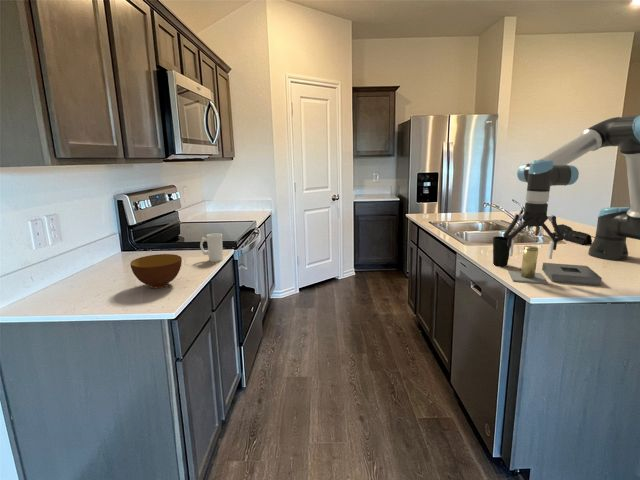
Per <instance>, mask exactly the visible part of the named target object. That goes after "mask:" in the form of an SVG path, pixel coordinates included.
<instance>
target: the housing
mask: <svg viewBox="0 0 640 480" xmlns="http://www.w3.org/2000/svg"><path fill="white" fill-rule="evenodd" d="M541 270H542V271H543V273H544V274H545V276H547V278H548V279H549V280H550V281H551V283H562V284H563V283H564V284H575V285H576V284H577V285H585V286H586V285H588V286H601V285H602V280H603V278H602V277H601V276H600V275H599V274H598V273H596V272H595V271H594V270H593V269H591V267H589V266H588V265H582V264H581V265H579V264H569V263H568V264H565V263H555V262H554V263H553V262H551V263H550V262H542V269H541Z"/></svg>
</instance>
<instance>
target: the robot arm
mask: <svg viewBox="0 0 640 480" xmlns="http://www.w3.org/2000/svg"><path fill="white" fill-rule="evenodd" d="M608 147H619V151H620V152H619V153H620V154H621V155H622V156H624V157H625V164H626V166H625V167H626V173H627V183H628V192H629V195H628V196H629V204H630V207H629V206H627V207H626V206H623V207H621V206H619V207H618V206H617V207H602V208H601V209H600V210H599V213H598V216H597V224H596V229H595V231H596V232H595V236H594V237H595V238H594V239H593V240H592V243H591V244H590V247H589V248H588V252H587V253H588V255H589V256H591V257H594V258H598V259H603V260H609V261H610V260H613V261H624V260H623V259H626V260H628V259H629V251H628V245H627V239H628V238H629V239H633V240H638V241H640V115H629V116H617V117H611V118H608V119H605V120H603V121H600V122H598V123H596V124H594V125H592V126H589V127H588V128H586V129H585V130H583V131H581V133H580V135H579V136H578V137H576V138H574V139H572V140H571V141H568V142H566V144H564V145H562V146H560V147H558V148H557V149H555V150H553V151H552V152H550V153H548V154H546V155H545V156H543V157H541V158H539V159H537V160H532V161H530V163H529V162H527V163H524V164H523V163H522V164H521V165H520V166H519V167H518V169H517V172H516V175H517V178H518V180H519V181H520V182H523V183H527V187H526V195H525V201H526V202H525V203H524V211H523V212H524V213H523V214H518V213H515V214H514V216H513V220H512V221H511V223H510V224H509V225H508V227H507V228H506V229H505V231H504V233H503V234H502V237H505V238H508V243H507V246H508V247H510V252H509V257H513V255H514V254H513V253H514V246H515V245H514V244H515V239H514V238H515V237H516V236H517V235H518V234H519V233H521V231H523V230H524V229H525V228H526V227H529V228H533V227H535V228H540V227H541V228H542V229H543V230H544V232H545V233H546V234H547V235H548V236H549V237H550V239H551V240H549V244H548V245H549V246H548V253H547V258H548V259H549V260H552V259H553V255H554V254H553V252H554V251H556V250H557V247H558V246H557V245H558V242H562V241H564V238H563V237H562V235H561V232H560V230H559V228H558V225H559V224H558V222H557V217H556V216H555V215H554V214H552V215H548V206H549V204H548V203H549V199H550V191H551V187H552V186H553V187H555V186H564V187H565V186H570V185H573V184H575V183H576V182H577V181H578V180H579V175H580V173H579V169H578V168H577V166H574V165H571V164H570V163H572V162H574V161H575V160H577V159H579V158H580V157H582V156H584V155H585V154H588V153H589V152H595V151H598V150H600V149H601V148H608ZM521 219H522V220H523V222H521V224H520V225H519V226H518V227H516V228H515V226H516V225H517V223H518V222H519V221H520V220H521ZM546 221H549V222H551V223H550V224H551V225H552V229H553V231H554V230H555V231H554V232H555V233H556V235H557V237H555V236H554V235H553V234H552V233H553V231H551V230H550V229H549V228H548V226H547V225H546V223H545V222H546ZM514 228H515V229H514ZM513 229H514V230H513ZM627 258H628V259H627Z"/></svg>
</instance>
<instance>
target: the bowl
mask: <svg viewBox="0 0 640 480" xmlns="http://www.w3.org/2000/svg"><path fill="white" fill-rule="evenodd" d="M182 260H183V259H182V256H180V255H178V254H172V253H160V254H159V253H157V254H150V255H146V256H145V255H144V256H141V257H137V258H135V259H133V260H131V262H130V264H129V265H130V268H131V272H132V273H133V275H134V276H135V277H136V279H137V280H138V281H139V282H141V283H142V284H143V285H147V286H150V288H151V289H162V288H166V287H168V285H169V283H172V281H174V279H176V277H177V276H178V274H179V272H180V271H181V268H182Z"/></svg>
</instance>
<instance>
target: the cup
mask: <svg viewBox="0 0 640 480" xmlns="http://www.w3.org/2000/svg"><path fill="white" fill-rule="evenodd" d="M507 243H508V238H505V237H504V236H498V235H497V236H493V237H492V265H493V264H494V265H495V267H498V266H500V267H499V268H506V267H508V262H509V258H510V255H509V252H510V247H508V246H507ZM494 265H493V266H494Z"/></svg>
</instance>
